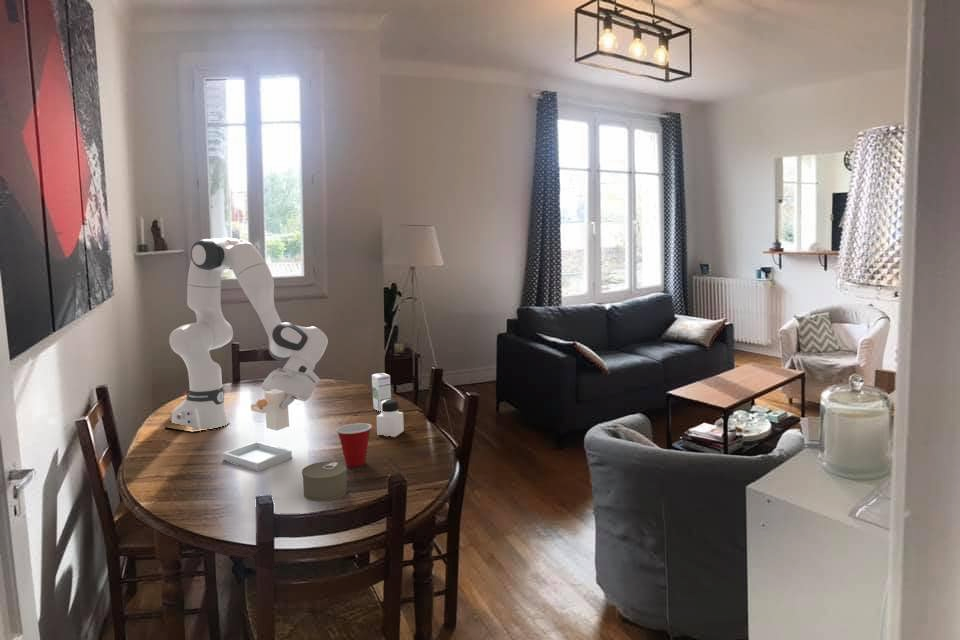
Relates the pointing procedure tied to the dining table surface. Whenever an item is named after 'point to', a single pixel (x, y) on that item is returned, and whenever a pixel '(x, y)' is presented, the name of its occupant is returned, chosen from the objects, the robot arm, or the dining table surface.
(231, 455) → the tray
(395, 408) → the medicine bottle
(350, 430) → the plastic cup
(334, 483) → the can
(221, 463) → the dining table surface
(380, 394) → the syrup box
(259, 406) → the ball
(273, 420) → the white block with shelf
